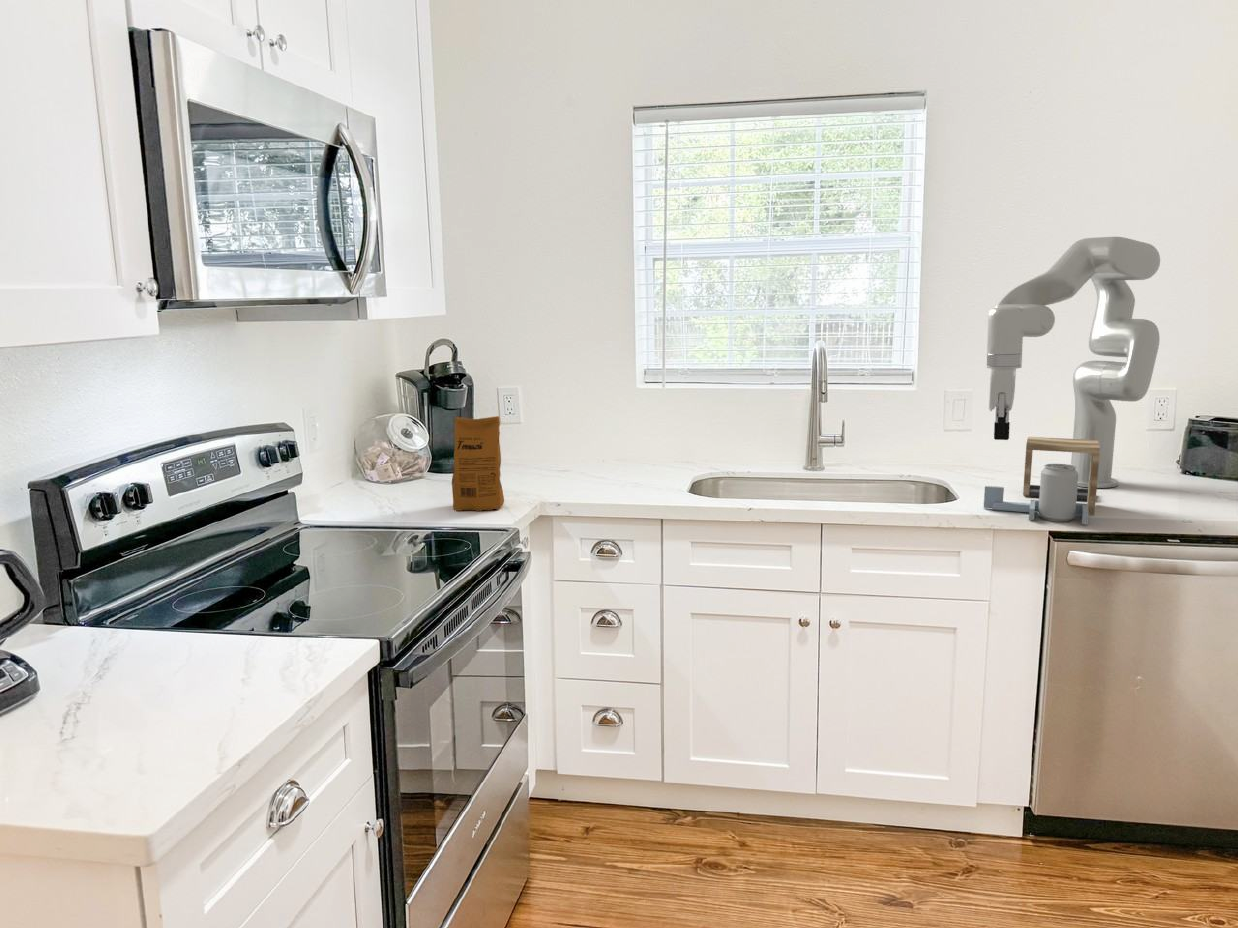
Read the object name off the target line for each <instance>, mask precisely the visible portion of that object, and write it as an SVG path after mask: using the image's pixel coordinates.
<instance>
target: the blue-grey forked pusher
mask: <svg viewBox="0 0 1238 928" xmlns="http://www.w3.org/2000/svg"><path fill="white" fill-rule="evenodd" d="M1004 491H1005V487H1004V486H996V485H995V486H993V485H985V486H984V493H983V494H984V496H983V509H992V510H997V511H1008V512H1021V513H1028V521H1029V520H1030V521H1034V520H1035V513H1038V509H1039V499H1030V502H1029V503H1027V502H1014V501H1004V494H1005V493H1004ZM1075 516H1080V517H1081V525H1086V526H1087V525H1088V522H1089V515H1088V507H1087V503H1081V502H1080V503H1079V502H1076V513H1075Z"/></svg>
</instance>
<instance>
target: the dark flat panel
mask: <svg viewBox="0 0 1238 928" xmlns="http://www.w3.org/2000/svg"><path fill="white" fill-rule="evenodd" d="M1039 494H1040V484H1039V485H1037V484H1030V490H1029V496H1026V495H1023V497H1024V496H1026V497H1025V498H1034V497H1036V499H1039ZM1087 499H1088V488H1085V487H1081V488H1080V487H1077V500H1076V502H1077V501H1078V502H1079V501H1080V502H1087Z"/></svg>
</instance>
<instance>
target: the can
mask: <svg viewBox="0 0 1238 928" xmlns="http://www.w3.org/2000/svg"><path fill="white" fill-rule="evenodd" d="M1075 469H1076V467H1075V466H1072V465H1071V464H1068V463H1067V464H1066V463H1047V464H1045V465H1044V468H1043V469H1042V470H1041V471H1040V480H1039V481H1040V482H1039V485H1040V494H1039V498H1038V500H1039V509H1038V512H1037V513H1038V516H1040V517H1041V519H1043V520H1045V521H1049V522H1054V523H1055V522H1056V523H1067V522H1071V521H1072V520H1073V519H1074V518H1076V515H1075V513H1076V503H1077V501H1076V500H1077V488H1079V486H1078V473H1077V472H1076V470H1075Z"/></svg>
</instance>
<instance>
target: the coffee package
mask: <svg viewBox="0 0 1238 928" xmlns="http://www.w3.org/2000/svg"><path fill="white" fill-rule="evenodd" d="M500 426H501V421H500V416H499V415H497V416H490V417H489V416H488V417H480V418H469V417H468V418H467V417H460V416H459V417H458V416H455V418H454V430H453V431H454V452H453V463H454V465H453V467H454V469H453V473H452V479H451V487H452V489H451V490H452V491H451V492H452V503H453V504H452V508H453V510H454V511H455V510H456V511H455V512H462V511H463V510H464V511H474V510H475V512H483V511H482V510H488V511H494V510H493V509H497V510H500V509H501V508H502V506H503V505H504V503H505V497H504V492H503V491H504V490H503V487H502V483H501V482H502V481H501V465H502V464H501V463H502V453H501V451H502V450H501V443H500V434H501V432H500ZM477 510H478V511H477ZM479 510H480V511H479Z"/></svg>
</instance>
